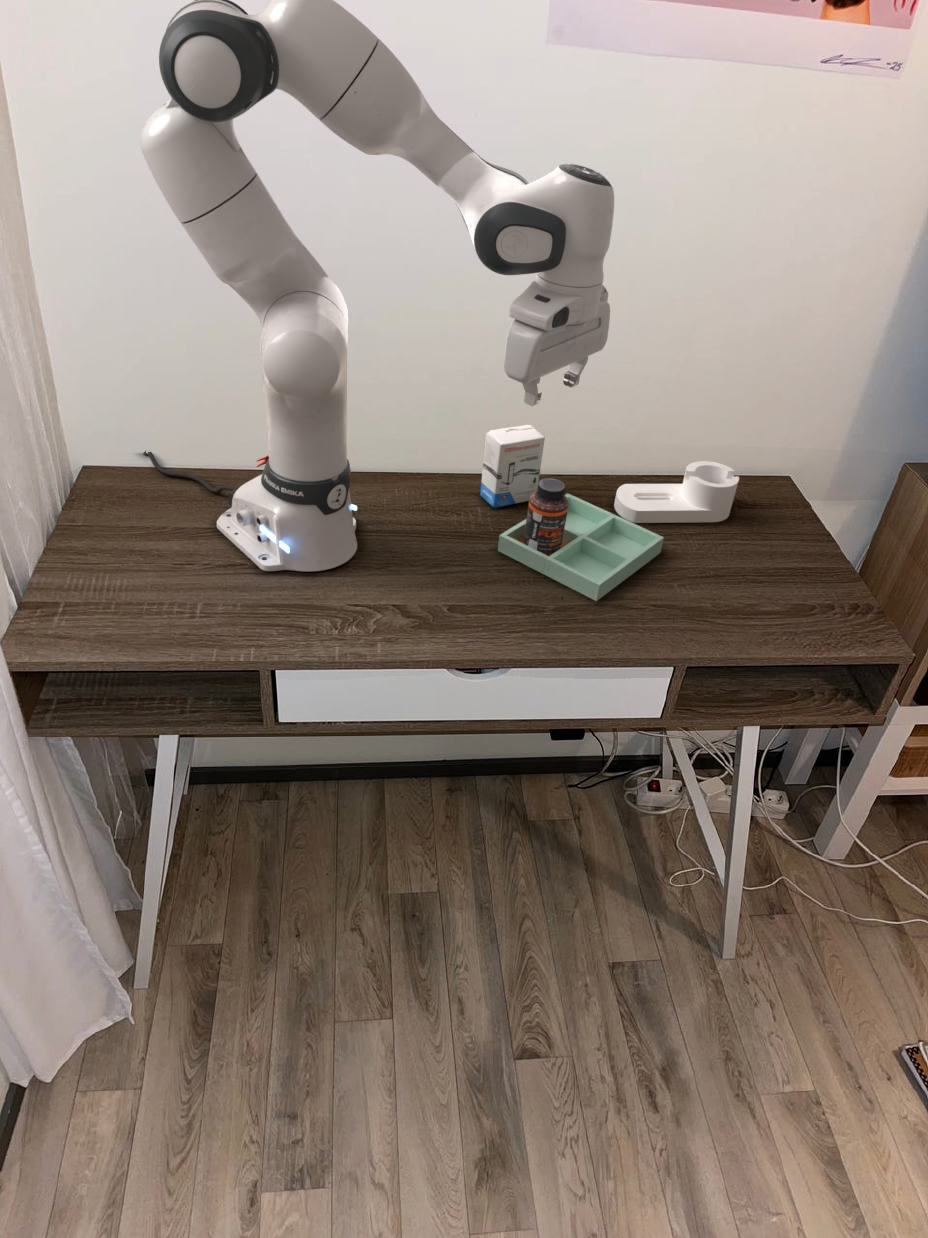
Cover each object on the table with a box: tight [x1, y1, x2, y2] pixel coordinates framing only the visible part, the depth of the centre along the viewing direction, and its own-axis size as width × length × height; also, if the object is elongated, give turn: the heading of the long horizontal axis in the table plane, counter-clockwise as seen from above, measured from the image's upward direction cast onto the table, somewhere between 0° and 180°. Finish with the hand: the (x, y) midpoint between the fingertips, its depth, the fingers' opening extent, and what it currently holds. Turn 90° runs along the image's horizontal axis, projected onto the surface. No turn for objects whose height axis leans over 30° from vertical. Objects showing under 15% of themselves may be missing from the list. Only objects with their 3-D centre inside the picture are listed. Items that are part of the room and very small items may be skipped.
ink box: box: [479, 424, 545, 509], centre depth 166 cm, size 9×5×12 cm, turn 118°
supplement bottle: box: [523, 477, 568, 556], centre depth 153 cm, size 6×6×11 cm
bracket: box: [613, 460, 740, 524], centre depth 168 cm, size 20×9×7 cm, turn 98°
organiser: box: [497, 493, 665, 602], centre depth 156 cm, size 18×18×3 cm
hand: (551, 393), depth 143 cm, fingers open, 8 cm apart
